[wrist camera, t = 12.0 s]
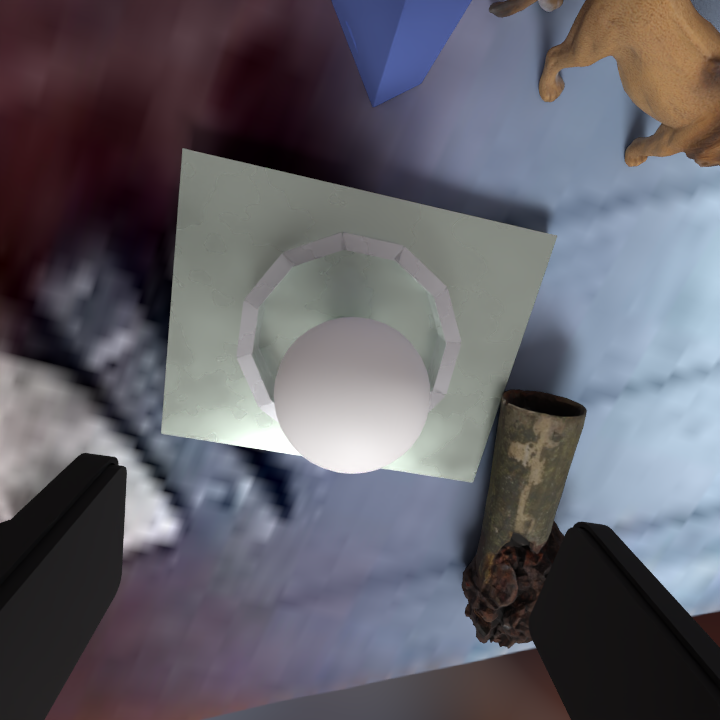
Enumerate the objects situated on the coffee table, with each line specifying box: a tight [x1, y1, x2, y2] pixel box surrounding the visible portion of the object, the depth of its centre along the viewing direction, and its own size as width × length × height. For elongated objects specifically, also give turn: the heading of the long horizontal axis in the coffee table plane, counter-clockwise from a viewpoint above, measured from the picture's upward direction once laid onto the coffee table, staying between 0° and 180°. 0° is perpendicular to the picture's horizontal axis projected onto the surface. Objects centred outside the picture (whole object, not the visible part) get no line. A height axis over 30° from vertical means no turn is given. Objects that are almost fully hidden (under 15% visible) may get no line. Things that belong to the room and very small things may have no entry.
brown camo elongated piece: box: [462, 390, 587, 649], centre depth 27 cm, size 18×7×6 cm, turn 174°
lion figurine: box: [489, 0, 720, 167], centre depth 18 cm, size 15×5×9 cm, turn 65°
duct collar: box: [161, 149, 557, 483], centre depth 24 cm, size 20×16×3 cm
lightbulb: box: [274, 317, 430, 474], centre depth 19 cm, size 6×6×11 cm
